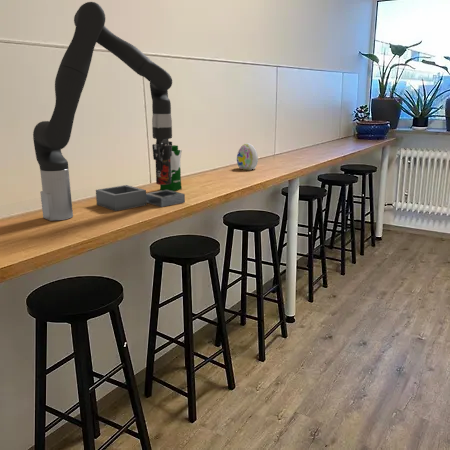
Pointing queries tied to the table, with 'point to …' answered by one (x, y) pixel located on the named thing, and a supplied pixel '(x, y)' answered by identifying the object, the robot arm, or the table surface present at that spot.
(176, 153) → the milk carton
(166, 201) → the socket collar
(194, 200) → the table surface
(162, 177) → the deodorant
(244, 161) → the decorative egg
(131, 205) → the bin
